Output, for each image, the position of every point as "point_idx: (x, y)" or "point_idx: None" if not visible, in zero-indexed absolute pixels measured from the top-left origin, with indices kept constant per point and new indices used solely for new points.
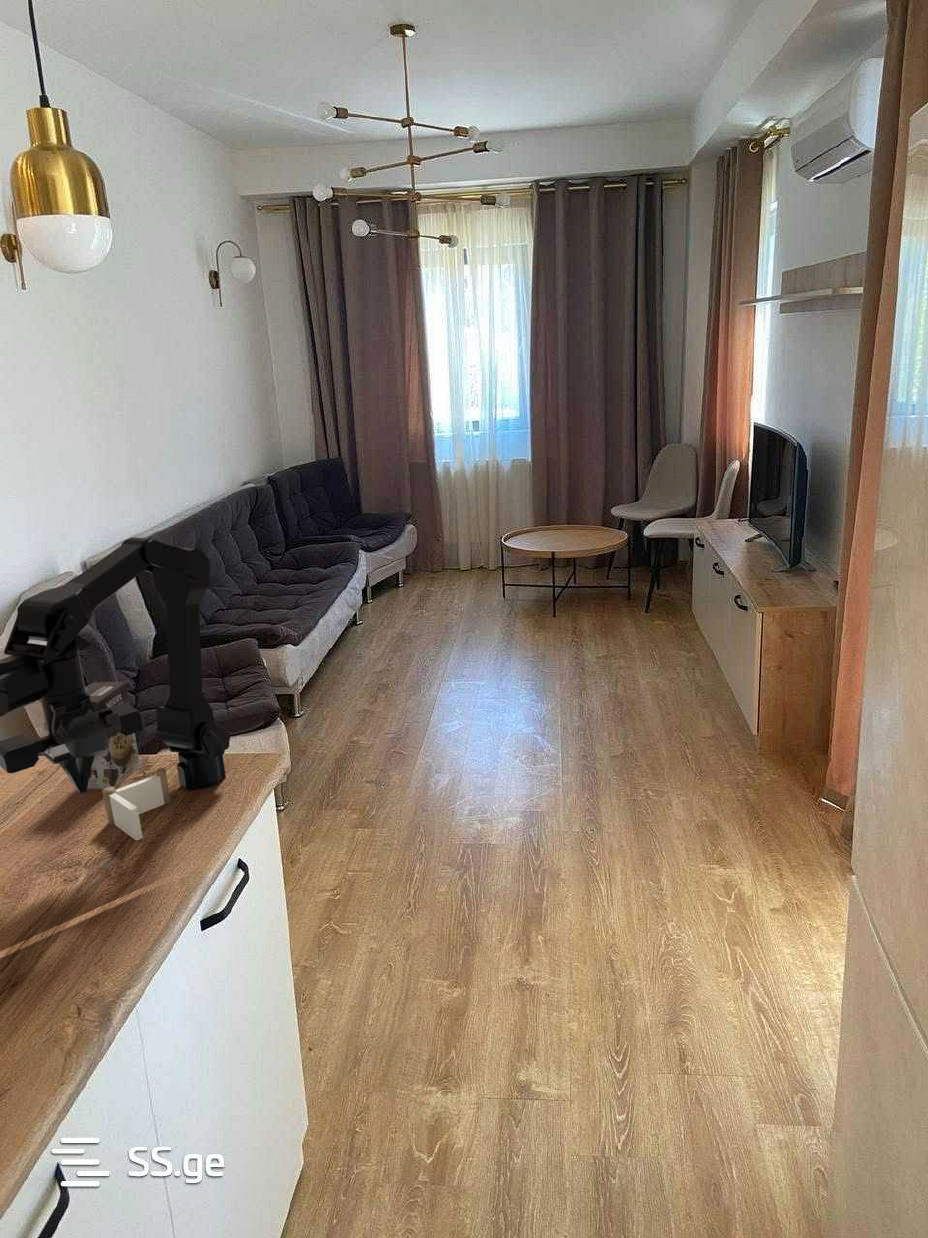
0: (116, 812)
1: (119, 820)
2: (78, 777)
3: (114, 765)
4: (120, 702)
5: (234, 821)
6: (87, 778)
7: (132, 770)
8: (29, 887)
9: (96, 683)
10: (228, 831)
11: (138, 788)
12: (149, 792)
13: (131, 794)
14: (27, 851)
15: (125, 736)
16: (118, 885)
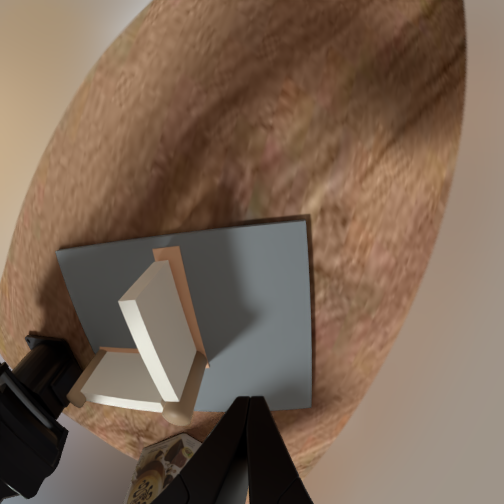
0: (180, 357)
1: (182, 340)
2: (259, 463)
3: (165, 466)
4: None
5: (21, 218)
6: (212, 443)
7: (150, 450)
8: (405, 245)
9: None
10: (30, 190)
11: (122, 391)
12: (111, 377)
13: (139, 388)
14: (355, 369)
15: (136, 493)
16: (253, 111)
